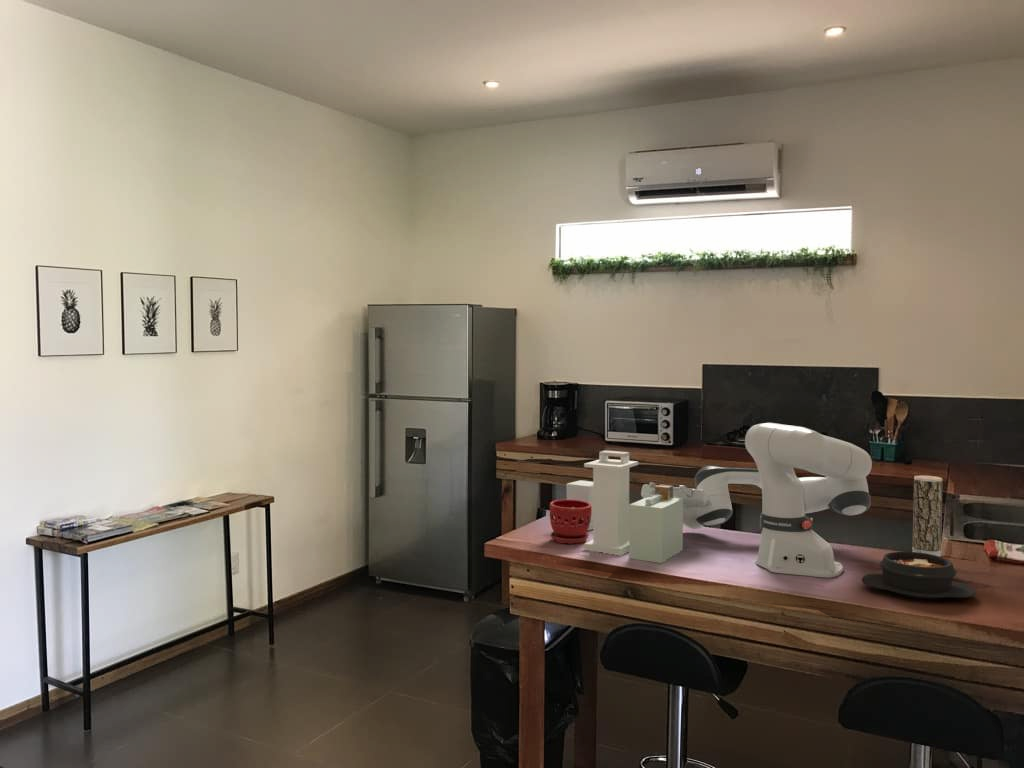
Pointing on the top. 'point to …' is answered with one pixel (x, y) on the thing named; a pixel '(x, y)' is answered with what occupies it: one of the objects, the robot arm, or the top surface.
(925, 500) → the bark pattern canister
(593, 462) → the tall stand
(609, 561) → the top surface
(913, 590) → the casserole
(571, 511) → the plant pot
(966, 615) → the top surface
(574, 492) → the supplement box
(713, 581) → the top surface
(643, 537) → the pale green box
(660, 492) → the brown block with handle
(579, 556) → the top surface
